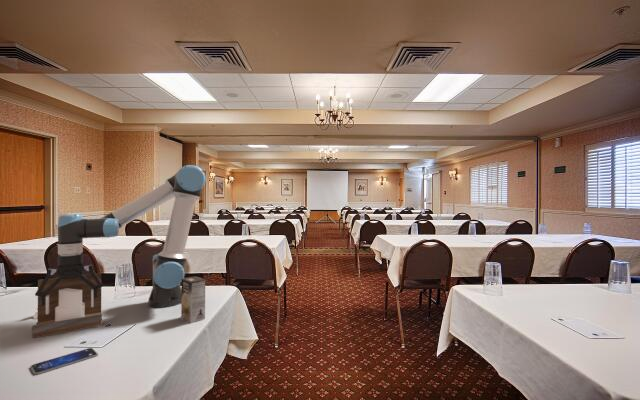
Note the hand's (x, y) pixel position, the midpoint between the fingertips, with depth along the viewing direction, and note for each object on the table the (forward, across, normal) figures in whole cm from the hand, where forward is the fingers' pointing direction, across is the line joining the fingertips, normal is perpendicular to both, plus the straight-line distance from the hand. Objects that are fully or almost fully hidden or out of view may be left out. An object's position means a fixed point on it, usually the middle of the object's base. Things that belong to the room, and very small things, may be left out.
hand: (70, 309), depth 122 cm
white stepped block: (+5, 0, 0) cm, 5 cm away
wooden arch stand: (+6, 0, 0) cm, 6 cm away
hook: (+6, -9, +20) cm, 23 cm away
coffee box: (+7, +40, -20) cm, 45 cm away
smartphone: (+7, 0, -35) cm, 35 cm away
